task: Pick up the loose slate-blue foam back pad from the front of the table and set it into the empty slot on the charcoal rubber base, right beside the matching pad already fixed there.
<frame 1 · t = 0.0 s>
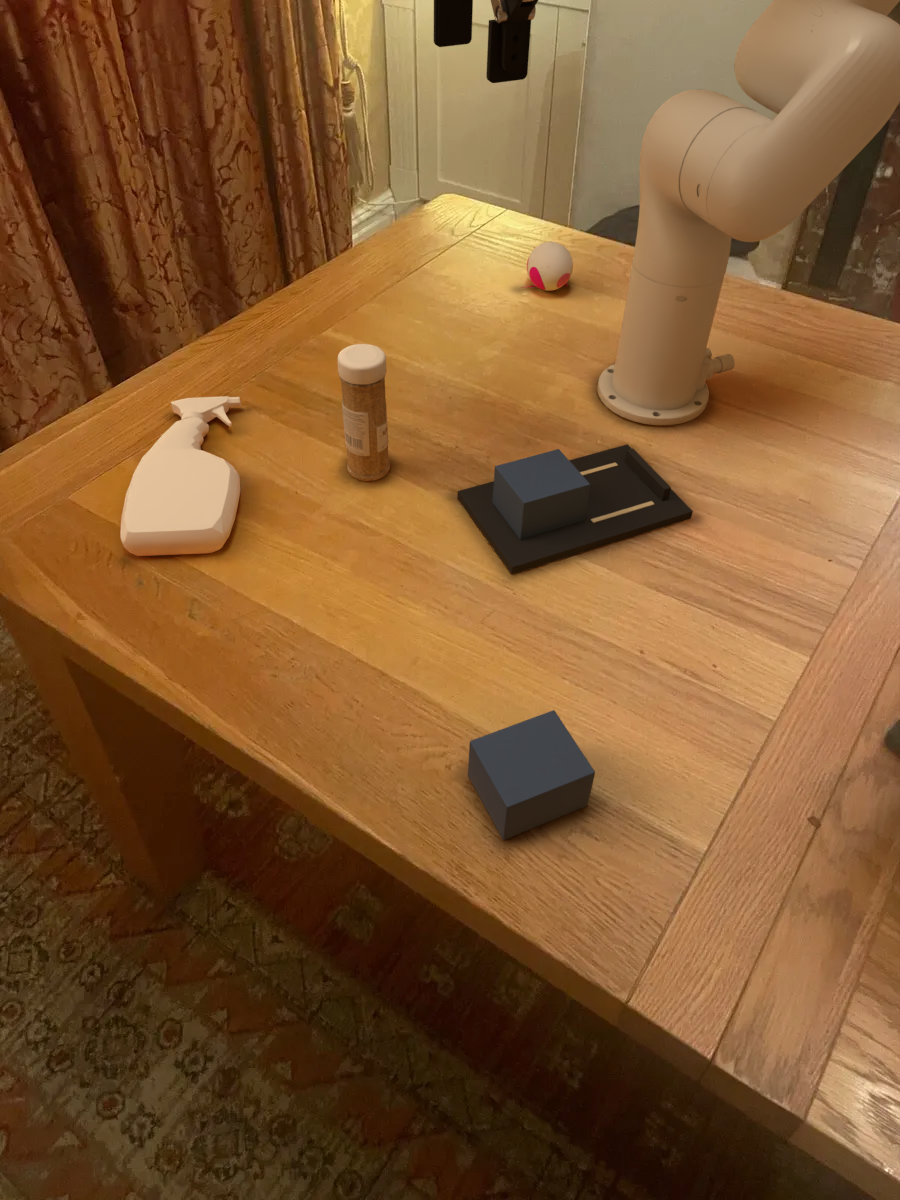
hand: (478, 61, 71), 37 cm above the table, tool pointing down, fingers open, 9 cm apart
sprinkles bottle: (368, 470, 94), on the table
spray bottle: (192, 477, 93), on the table
back pad: (526, 790, 68), on the table
stress ball: (543, 288, 123), on the table
pad base: (603, 499, 92), on the table
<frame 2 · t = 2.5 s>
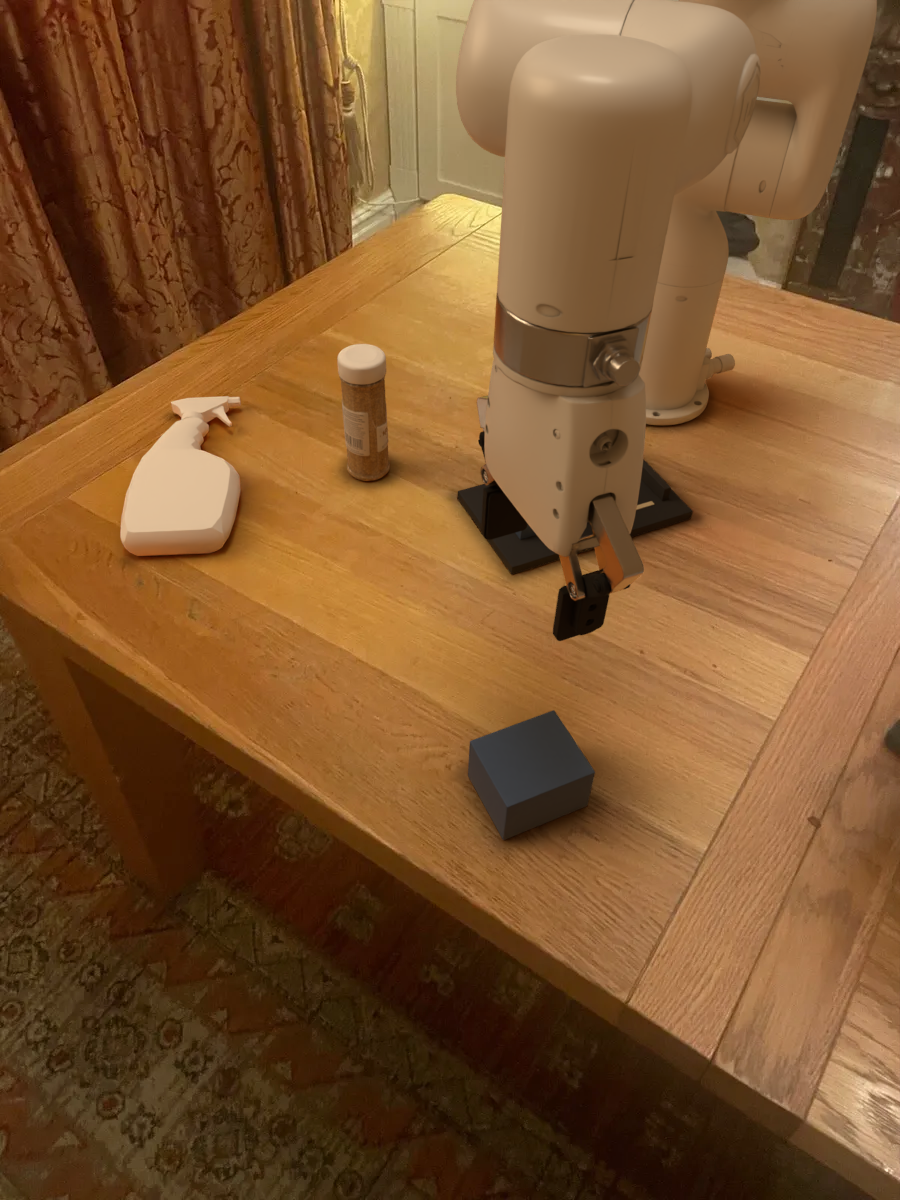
hand: (538, 579, 57), 18 cm above the table, tool pointing down, fingers open, 9 cm apart
nothing on the table moved.
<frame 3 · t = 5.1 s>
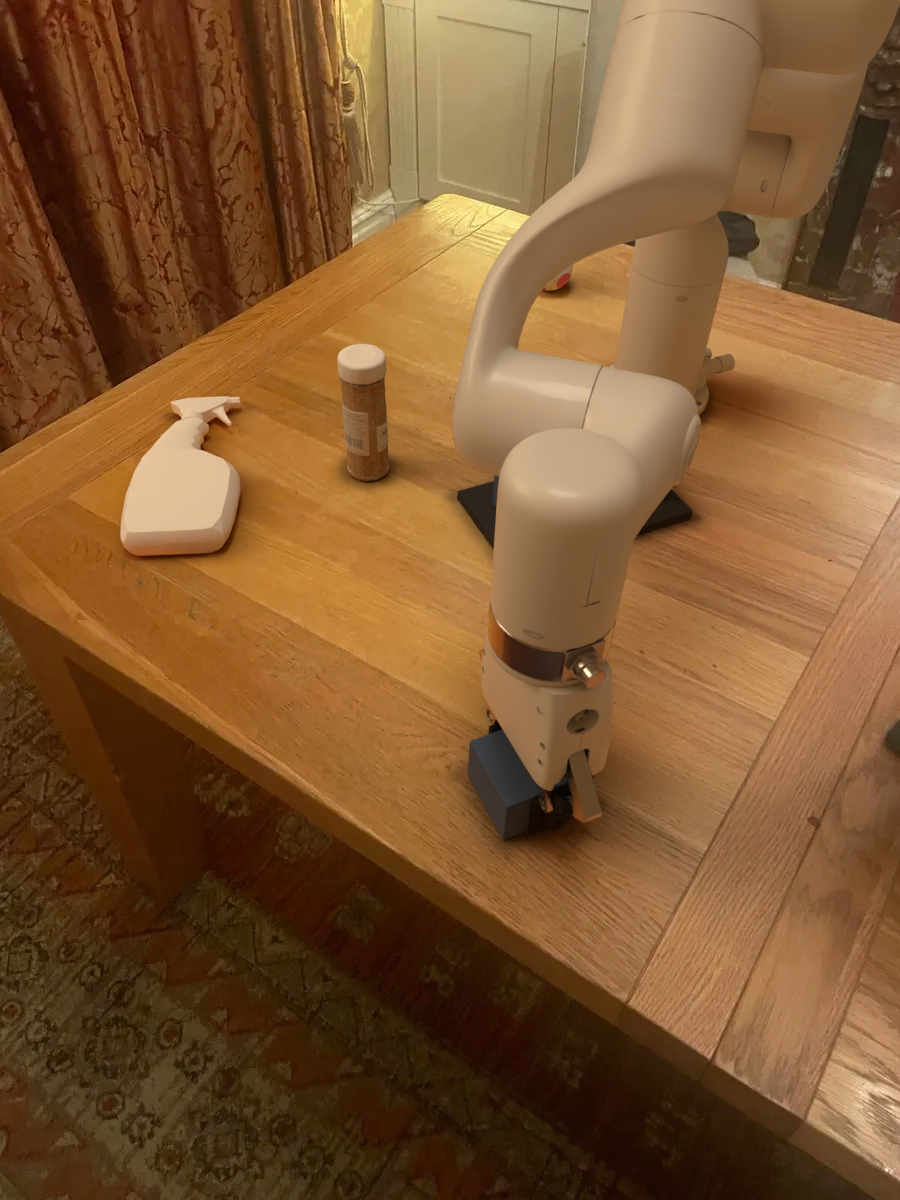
hand: (527, 786, 67), 1 cm above the table, tool pointing down, fingers closed on back pad, 6 cm apart
back pad: (526, 790, 68), on the table, touching gripper
everything else where it was.
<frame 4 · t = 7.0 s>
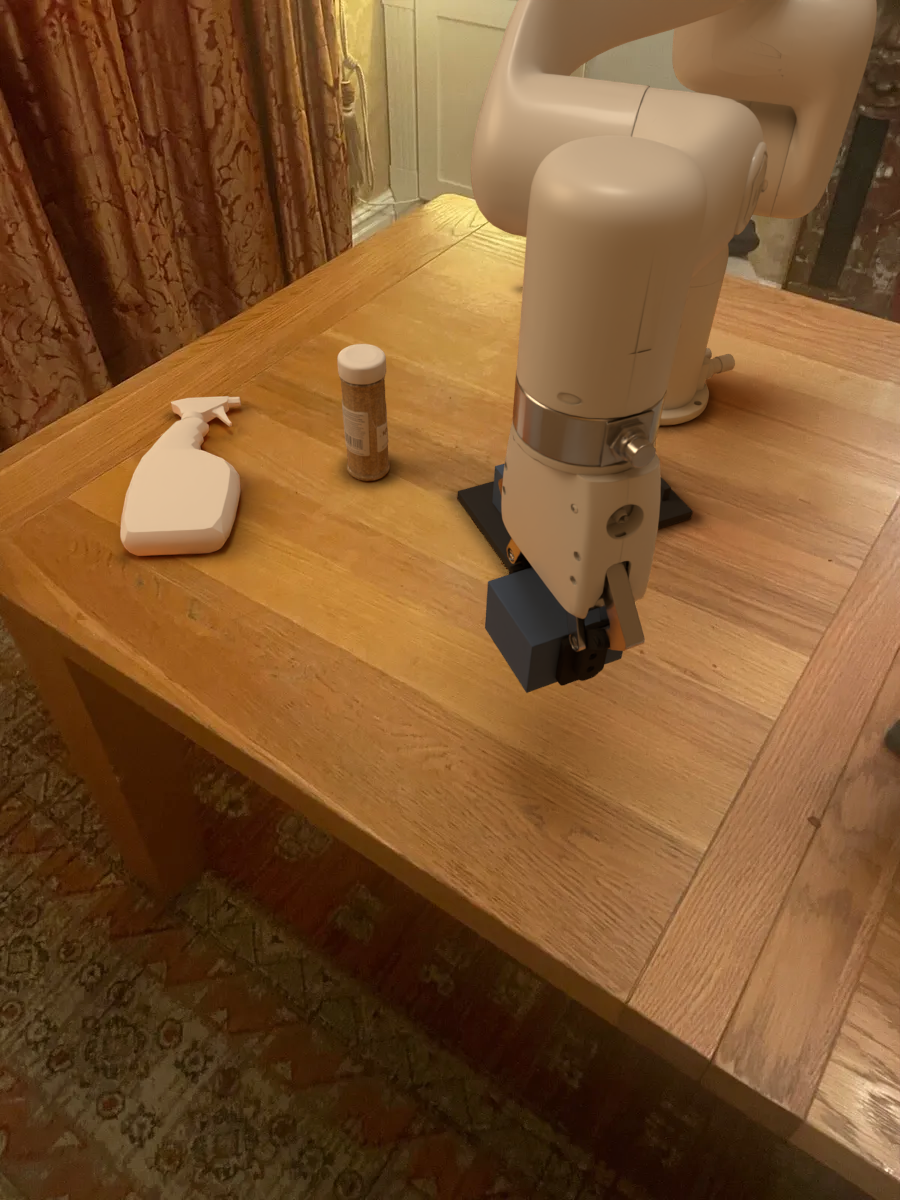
hand: (553, 637, 59), 14 cm above the table, tool pointing down, fingers closed on back pad, 6 cm apart
back pad: (552, 643, 60), point 14 cm above the table, touching gripper
everything else where it was.
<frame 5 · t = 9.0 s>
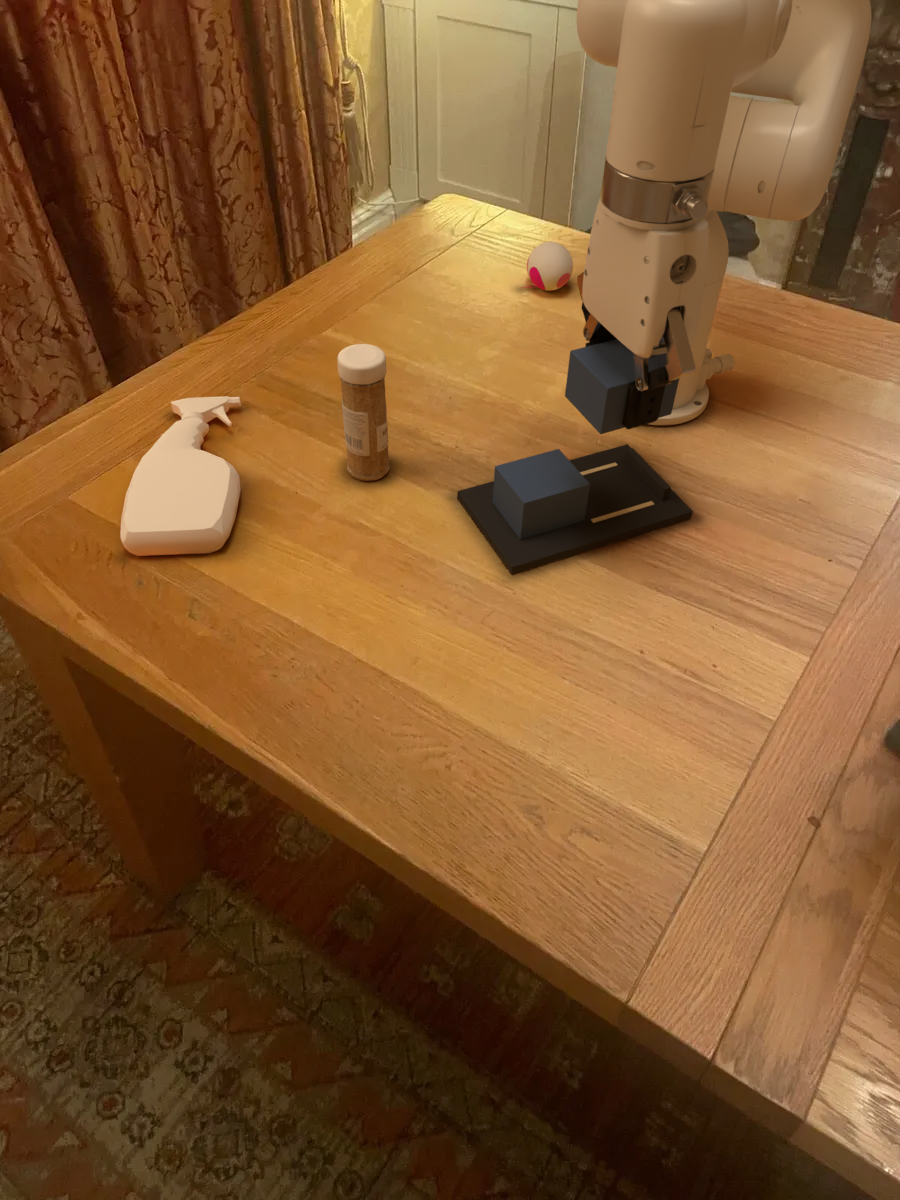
hand: (618, 400, 77), 15 cm above the table, tool pointing down, fingers closed on back pad, 6 cm apart
back pad: (617, 405, 77), point 15 cm above the table, touching gripper
everything else where it was.
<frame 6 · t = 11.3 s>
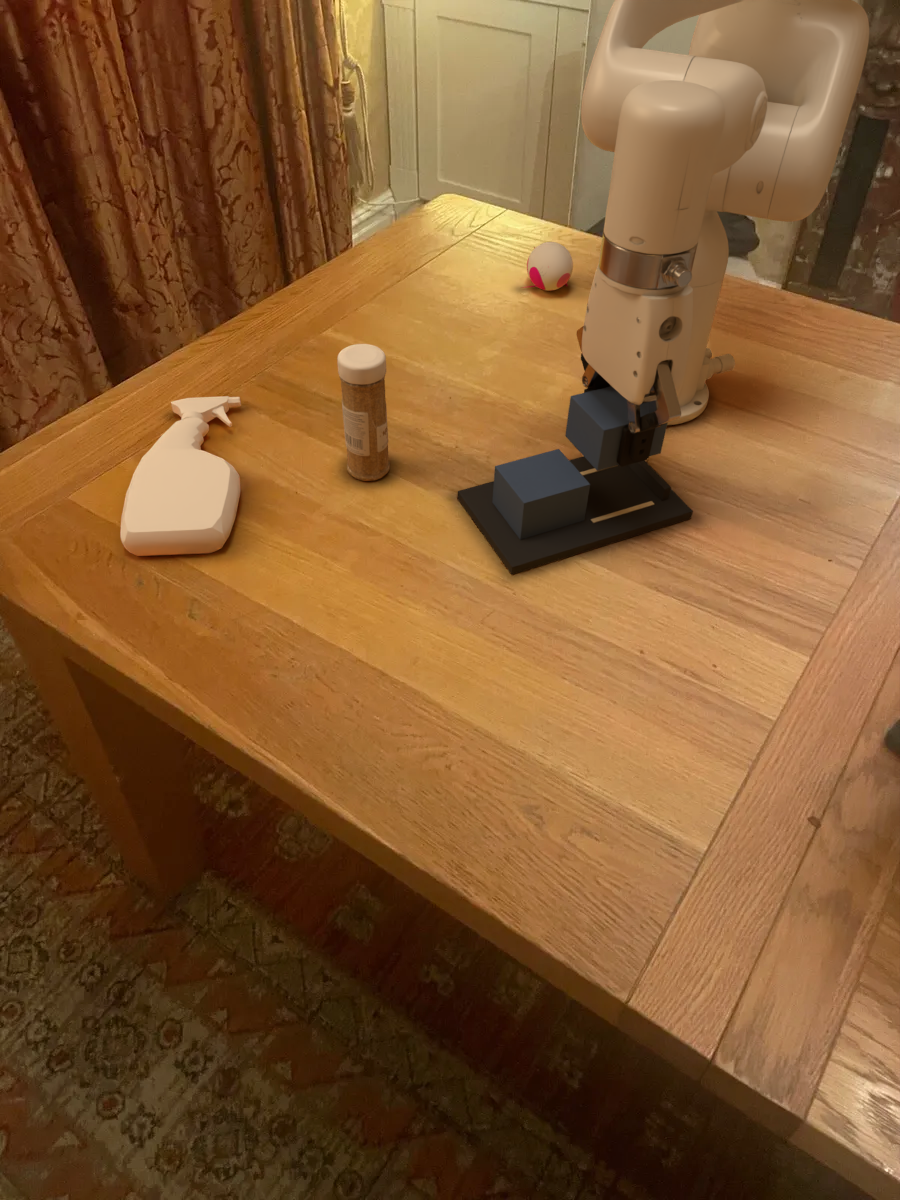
hand: (613, 440, 86), 8 cm above the table, tool pointing down, fingers closed on back pad, 6 cm apart
back pad: (612, 444, 86), point 7 cm above the table, touching gripper
everything else where it was.
when the fingers open (2 cm above the table, at t = 13.1 s): back pad stays where it is, resting on pad base.
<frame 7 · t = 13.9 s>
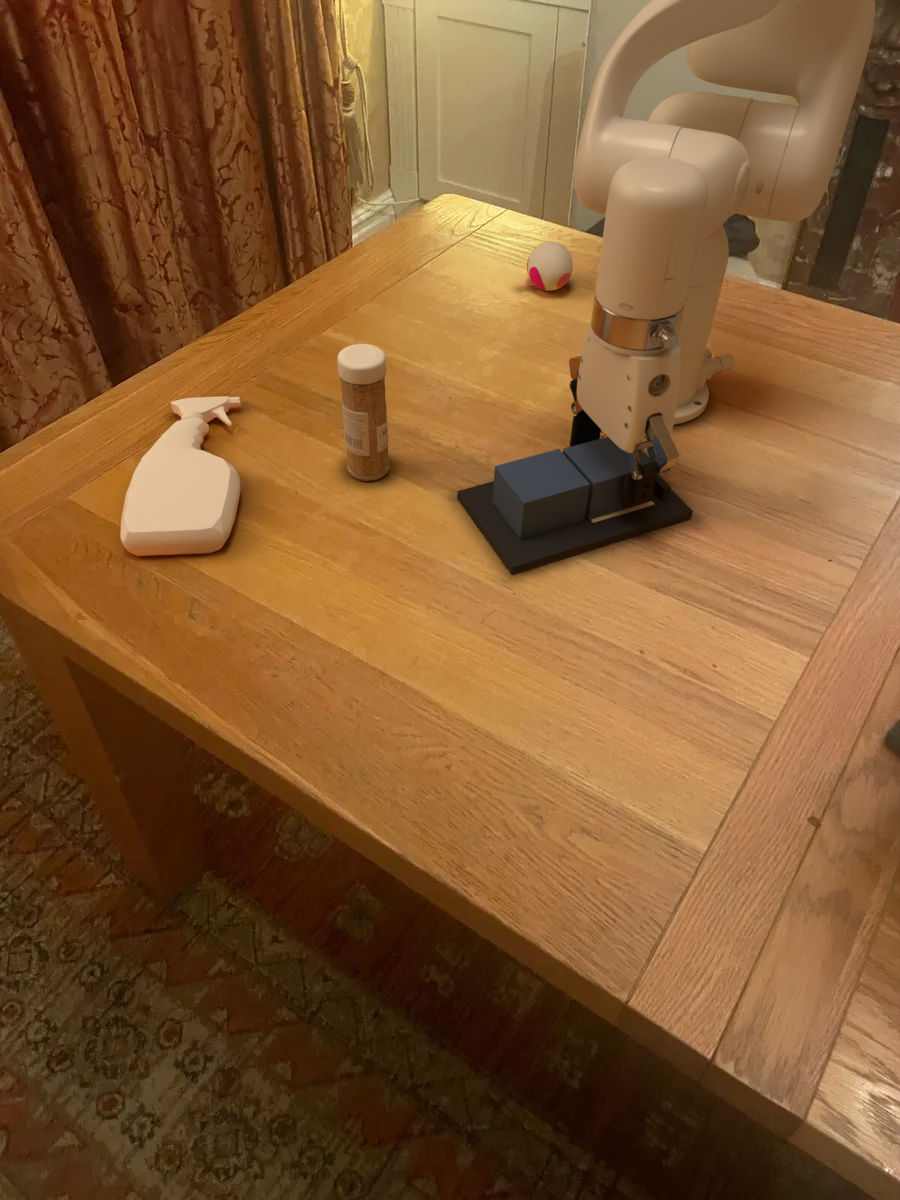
hand: (608, 474, 90), 3 cm above the table, tool pointing down, fingers open, 9 cm apart
back pad: (603, 493, 91), point 1 cm above the table, touching pad base
everything else where it was.
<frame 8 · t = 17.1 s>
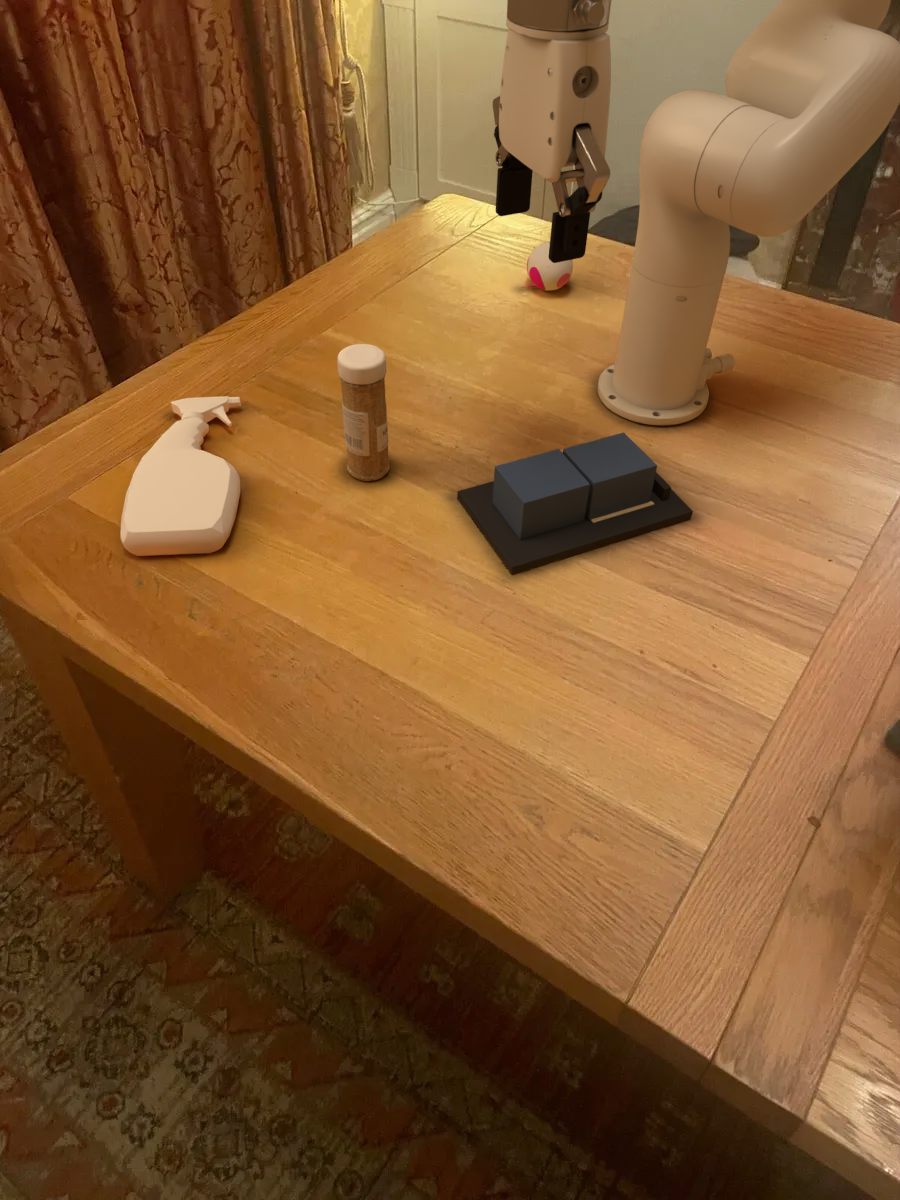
hand: (538, 235, 78), 24 cm above the table, tool pointing down, fingers open, 9 cm apart
nothing on the table moved.
at the end: back pad 0.4 cm off-centre on the pad base, point 1.1 cm above the pad base's base; back pad tilted 1°; the gripper is holding nothing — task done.
